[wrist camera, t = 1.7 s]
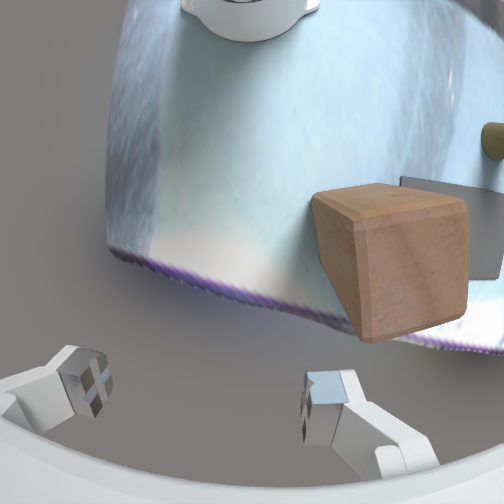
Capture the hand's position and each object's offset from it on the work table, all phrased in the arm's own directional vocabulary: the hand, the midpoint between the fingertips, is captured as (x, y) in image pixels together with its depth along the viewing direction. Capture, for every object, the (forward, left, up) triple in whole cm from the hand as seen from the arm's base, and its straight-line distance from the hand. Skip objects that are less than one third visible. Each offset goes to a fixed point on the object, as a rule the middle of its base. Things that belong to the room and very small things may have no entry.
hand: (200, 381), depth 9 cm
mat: (0, +30, -31) cm, 43 cm away
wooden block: (0, +13, -31) cm, 34 cm away
